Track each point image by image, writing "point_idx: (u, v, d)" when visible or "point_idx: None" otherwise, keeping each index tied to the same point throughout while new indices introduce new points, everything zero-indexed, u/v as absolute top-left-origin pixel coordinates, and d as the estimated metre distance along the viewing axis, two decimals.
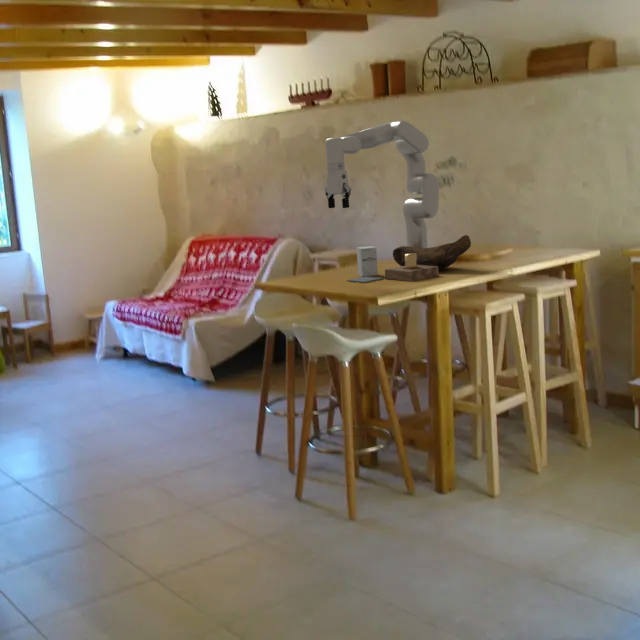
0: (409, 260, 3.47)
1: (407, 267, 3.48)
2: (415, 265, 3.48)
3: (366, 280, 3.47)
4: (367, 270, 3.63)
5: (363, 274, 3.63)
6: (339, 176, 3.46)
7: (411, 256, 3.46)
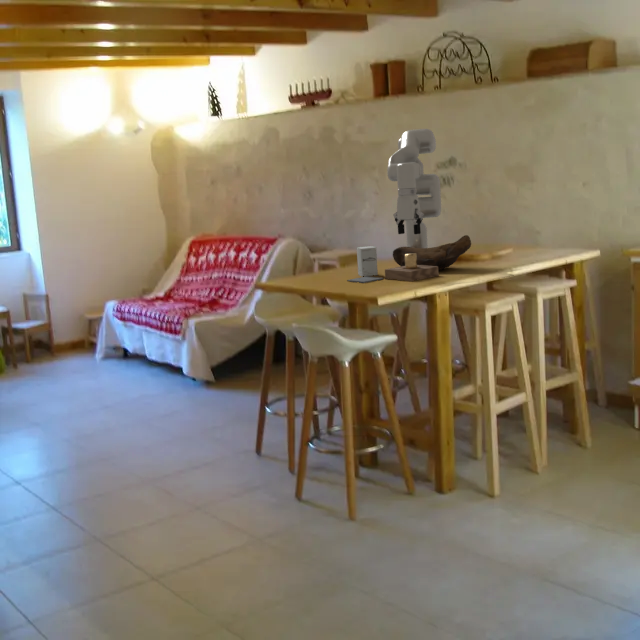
0: (409, 260, 3.47)
1: (407, 267, 3.48)
2: (415, 265, 3.48)
3: (366, 280, 3.47)
4: (367, 270, 3.63)
5: (363, 274, 3.63)
6: (411, 202, 3.40)
7: (411, 256, 3.46)
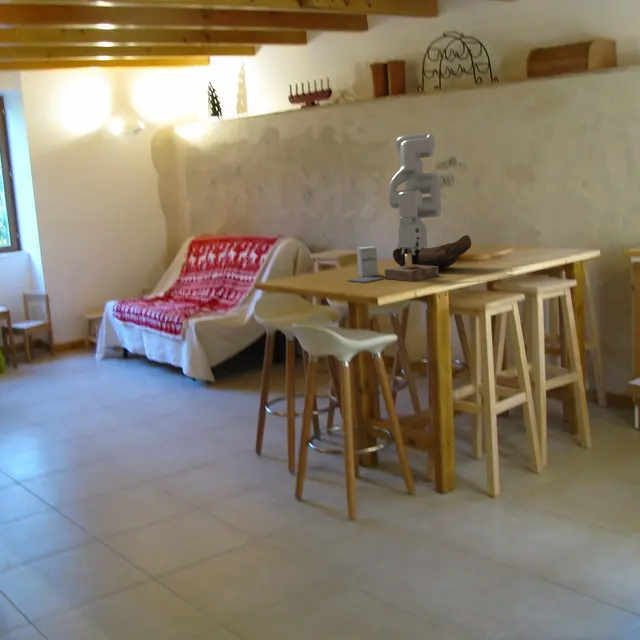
0: (409, 260, 3.47)
1: (407, 267, 3.48)
2: (415, 265, 3.48)
3: (366, 280, 3.47)
4: (367, 270, 3.63)
5: (363, 274, 3.63)
6: (413, 230, 3.42)
7: (411, 256, 3.46)
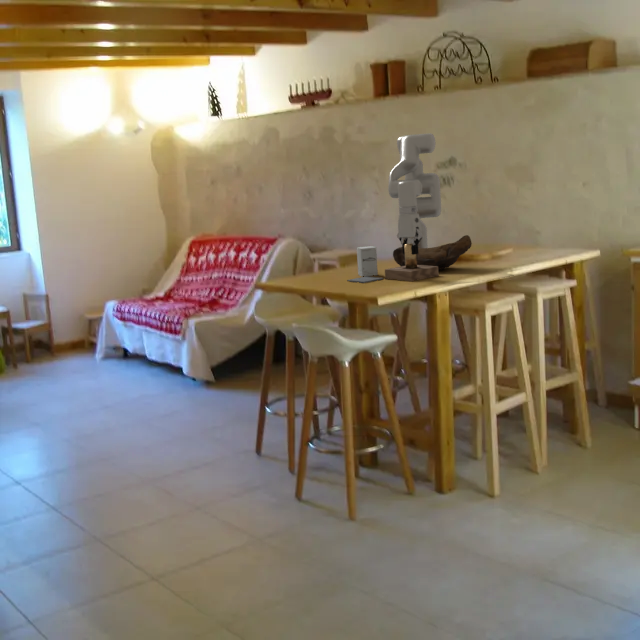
0: (409, 250, 3.46)
1: (407, 257, 3.48)
2: (415, 255, 3.47)
3: (366, 280, 3.47)
4: (367, 270, 3.63)
5: (363, 274, 3.63)
6: (412, 220, 3.42)
7: (411, 246, 3.46)
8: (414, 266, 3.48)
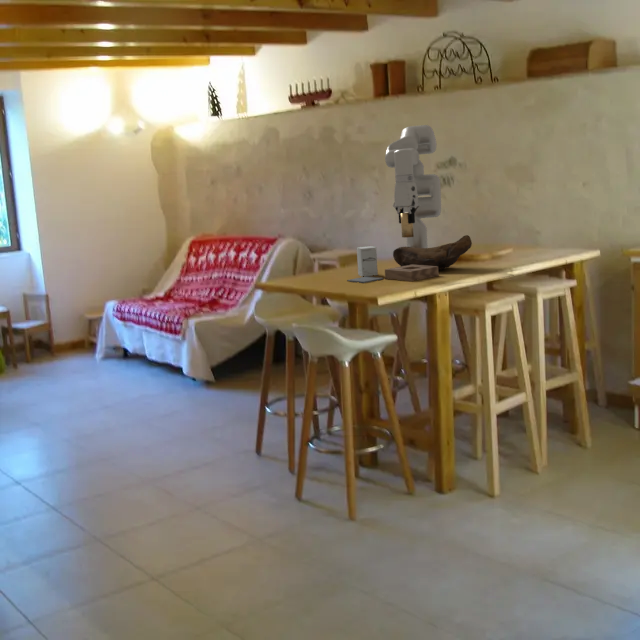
0: (405, 218, 3.44)
1: (403, 226, 3.45)
2: (411, 224, 3.45)
3: (366, 280, 3.47)
4: (367, 270, 3.63)
5: (363, 274, 3.63)
6: (409, 188, 3.39)
7: (407, 215, 3.43)
8: (410, 235, 3.45)
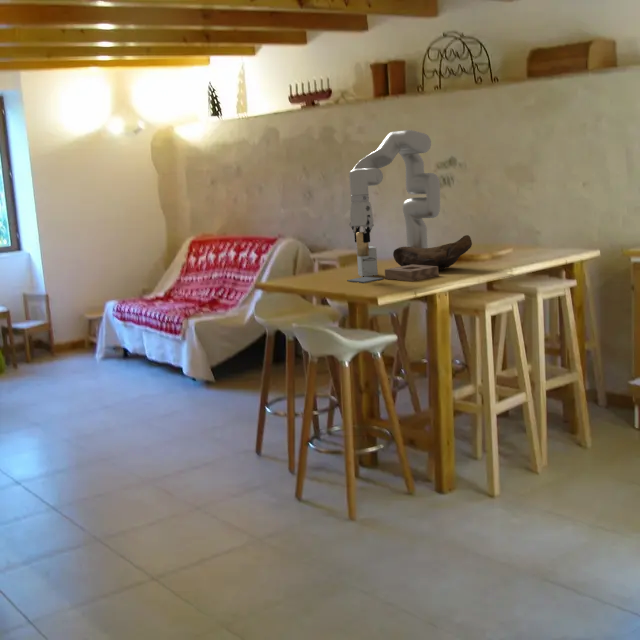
0: (360, 238, 3.46)
1: (358, 245, 3.47)
2: (366, 243, 3.47)
3: (366, 280, 3.47)
4: (367, 270, 3.63)
5: (363, 274, 3.63)
6: (363, 208, 3.42)
7: (362, 234, 3.46)
8: (366, 254, 3.48)
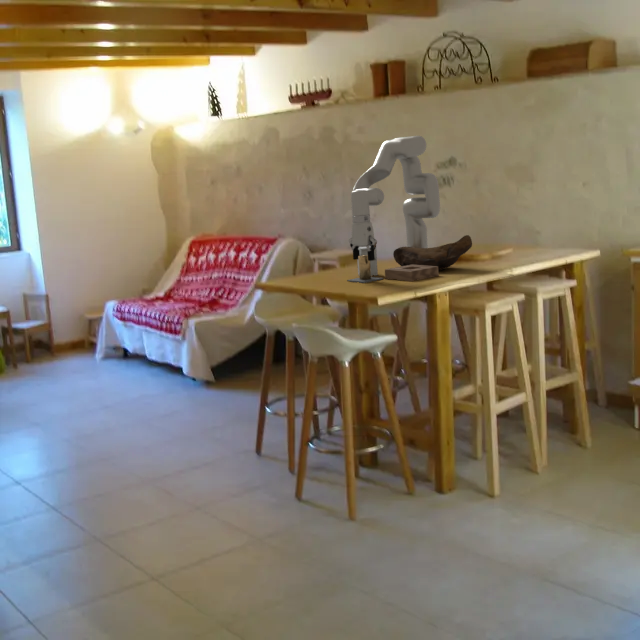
0: (362, 261, 3.48)
1: (360, 269, 3.50)
2: (368, 267, 3.49)
3: (366, 280, 3.47)
4: None
5: None
6: (365, 229, 3.43)
7: (364, 258, 3.48)
8: (368, 278, 3.50)
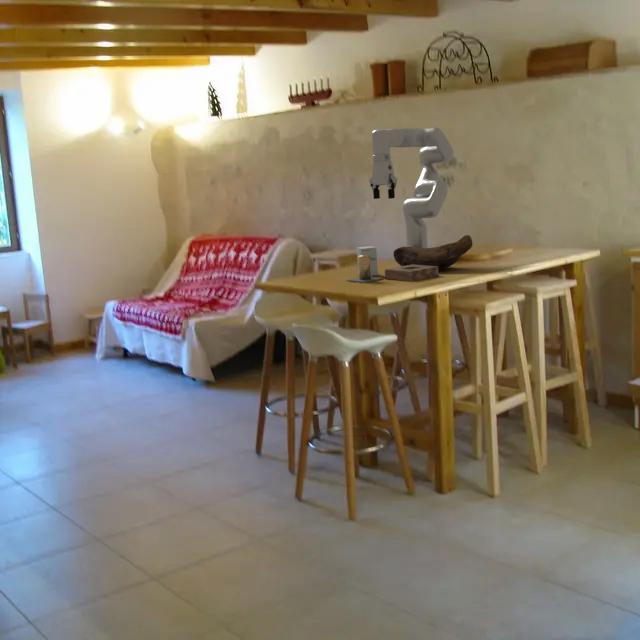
0: (362, 261, 3.48)
1: (360, 269, 3.50)
2: (368, 266, 3.49)
3: (366, 280, 3.47)
4: None
5: None
6: (385, 167, 3.53)
7: (364, 257, 3.48)
8: (368, 277, 3.50)
